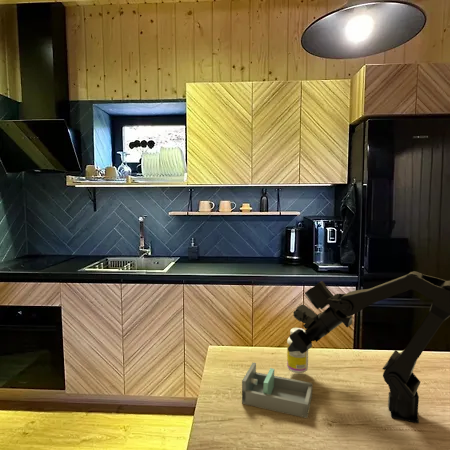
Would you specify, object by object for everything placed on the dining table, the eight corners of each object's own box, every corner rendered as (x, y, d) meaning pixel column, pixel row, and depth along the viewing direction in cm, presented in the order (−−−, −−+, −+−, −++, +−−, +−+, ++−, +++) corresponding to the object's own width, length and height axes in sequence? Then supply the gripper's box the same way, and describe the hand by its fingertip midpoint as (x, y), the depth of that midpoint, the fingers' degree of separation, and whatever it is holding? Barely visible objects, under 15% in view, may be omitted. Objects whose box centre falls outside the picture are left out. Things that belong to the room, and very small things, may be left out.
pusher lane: (312, 395, 103) (312, 373, 102) (307, 418, 93) (307, 393, 92) (252, 383, 109) (252, 362, 108) (241, 403, 99) (242, 380, 98)
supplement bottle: (293, 361, 119) (293, 324, 117) (311, 367, 115) (312, 329, 113) (283, 369, 114) (283, 331, 112) (301, 376, 109) (302, 336, 108)
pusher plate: (274, 386, 105) (274, 368, 105) (267, 402, 98) (267, 383, 97) (270, 385, 106) (270, 368, 105) (263, 401, 98) (263, 382, 97)
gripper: (322, 292, 117) (291, 317, 124) (296, 307, 102) (263, 334, 110) (345, 320, 112) (312, 344, 120) (321, 340, 98) (285, 366, 106)
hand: (293, 346), depth 114 cm, fingers closed on supplement bottle, 7 cm apart
